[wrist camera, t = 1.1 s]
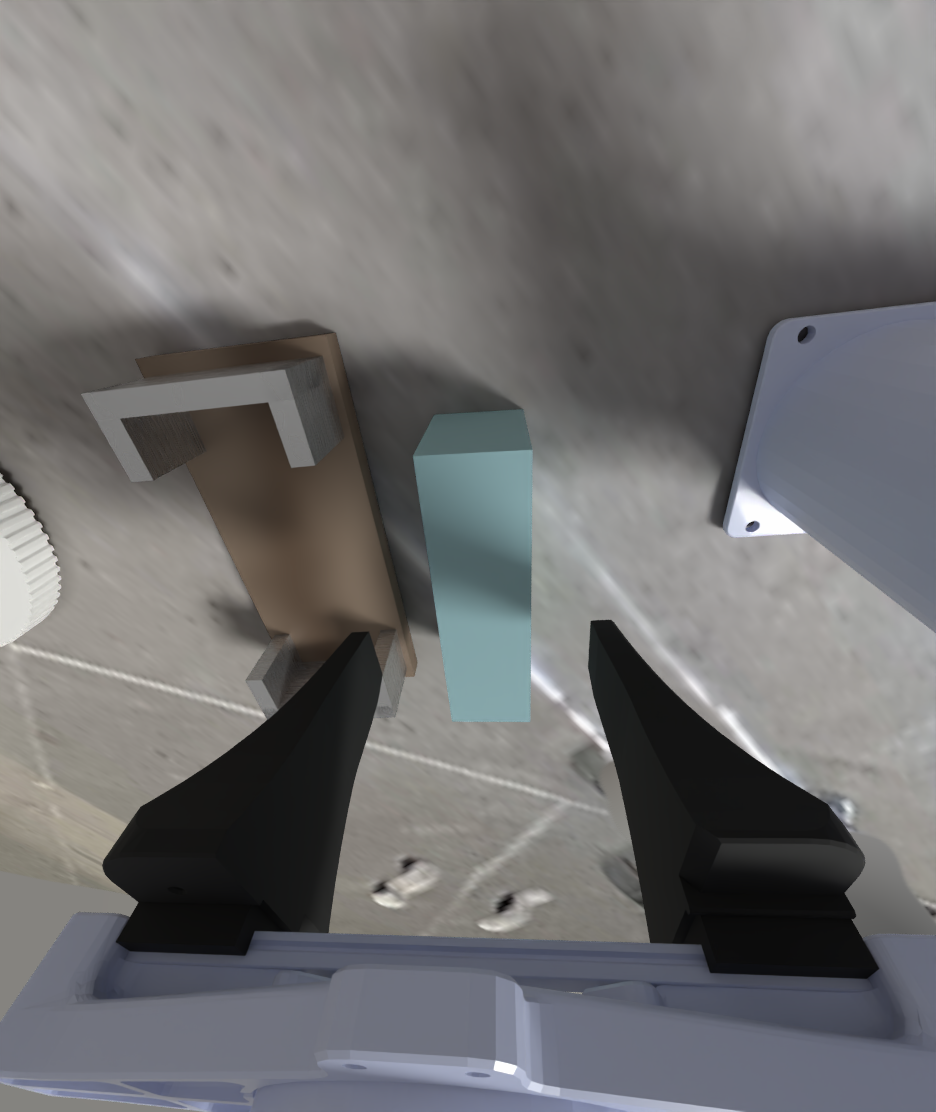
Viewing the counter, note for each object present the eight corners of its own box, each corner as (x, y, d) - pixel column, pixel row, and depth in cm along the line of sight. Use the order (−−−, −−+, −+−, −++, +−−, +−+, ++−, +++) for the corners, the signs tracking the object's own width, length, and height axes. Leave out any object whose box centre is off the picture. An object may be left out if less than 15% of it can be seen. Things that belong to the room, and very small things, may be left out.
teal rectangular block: (522, 408, 16) (532, 449, 12) (523, 640, 22) (530, 721, 18) (434, 413, 16) (412, 456, 12) (460, 641, 23) (452, 721, 18)
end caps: (322, 355, 14) (284, 369, 12) (406, 668, 22) (395, 717, 20) (151, 376, 15) (80, 393, 12) (293, 672, 23) (267, 720, 20)
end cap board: (335, 332, 15) (325, 335, 14) (417, 662, 23) (414, 676, 22) (154, 355, 15) (135, 359, 15) (298, 666, 24) (291, 680, 23)
